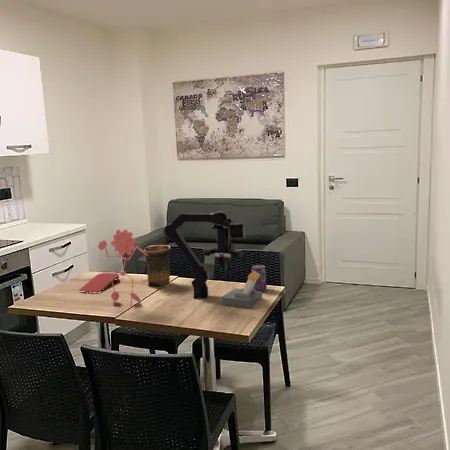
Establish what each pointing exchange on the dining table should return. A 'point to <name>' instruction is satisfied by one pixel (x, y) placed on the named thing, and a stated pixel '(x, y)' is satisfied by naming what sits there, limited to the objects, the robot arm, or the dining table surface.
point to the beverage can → (260, 282)
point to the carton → (99, 282)
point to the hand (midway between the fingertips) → (224, 270)
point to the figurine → (122, 245)
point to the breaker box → (241, 298)
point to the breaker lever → (251, 282)
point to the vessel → (158, 265)
